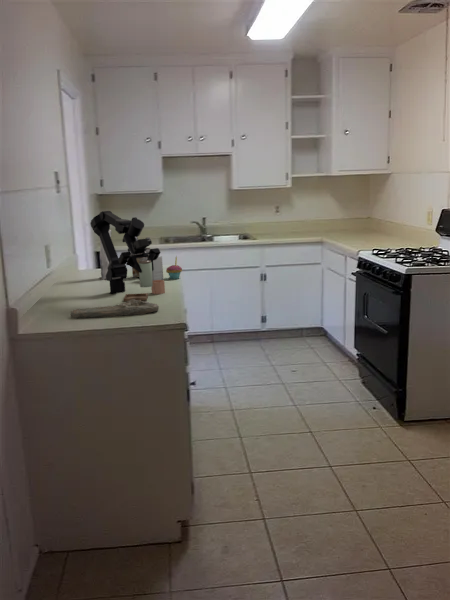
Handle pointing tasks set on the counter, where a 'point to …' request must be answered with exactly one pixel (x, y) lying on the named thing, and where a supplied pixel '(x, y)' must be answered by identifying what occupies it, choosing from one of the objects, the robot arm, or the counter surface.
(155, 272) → the supplement box
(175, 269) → the cupcake
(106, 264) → the skyscraper
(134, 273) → the coffee box
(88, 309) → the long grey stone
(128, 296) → the walnut tray
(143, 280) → the spice jar
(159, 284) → the terracotta cup
